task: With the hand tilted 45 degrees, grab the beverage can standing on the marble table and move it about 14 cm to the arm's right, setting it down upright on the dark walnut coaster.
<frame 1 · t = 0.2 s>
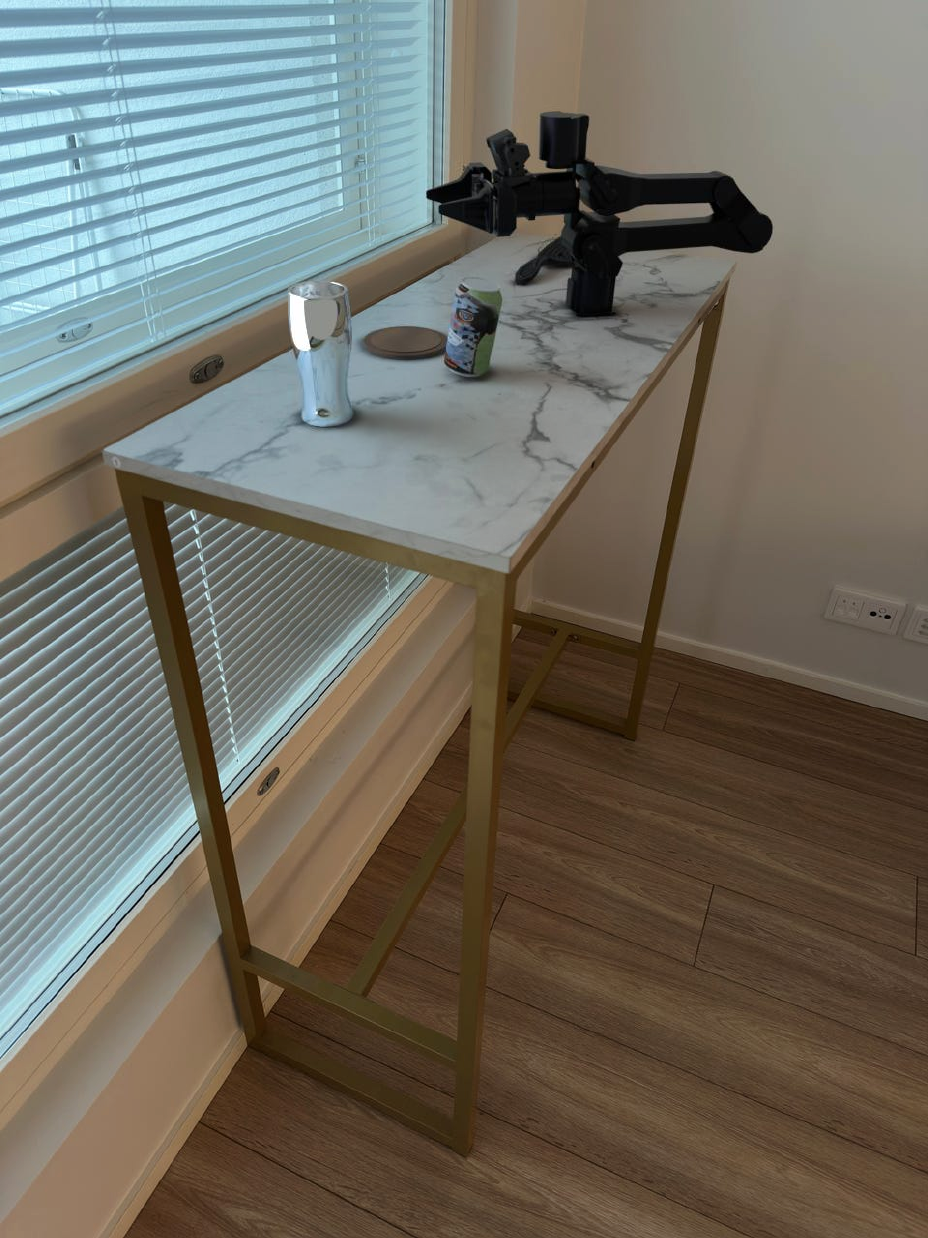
hand: (432, 201, 128), 17 cm above the table, tool horizontal, fingers open, 9 cm apart
beverage can: (471, 374, 121), on the table
hairbrush: (548, 268, 162), on the table
coaster: (406, 344, 129), on the table
beer glass: (327, 417, 109), on the table
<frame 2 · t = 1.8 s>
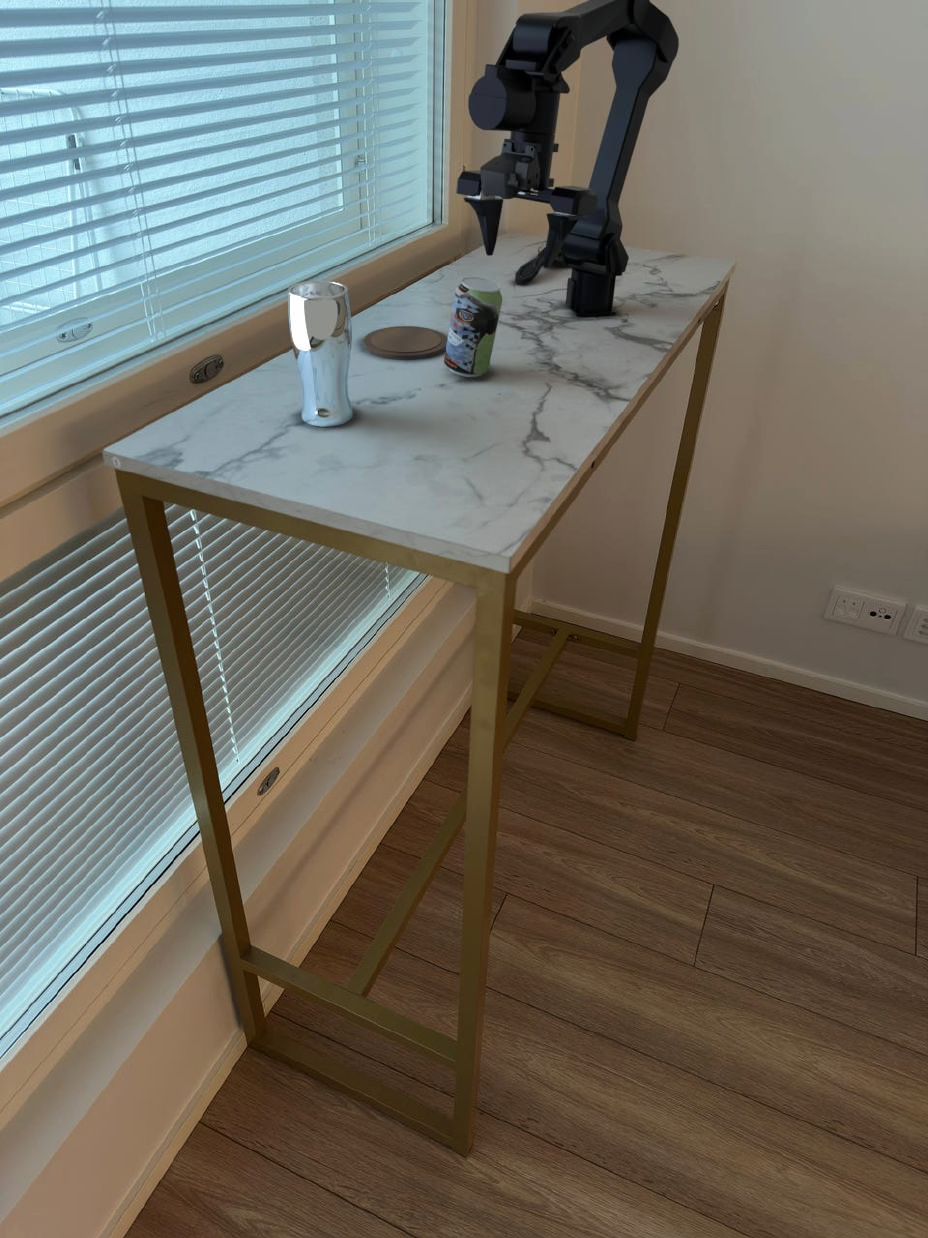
hand: (517, 261, 123), 11 cm above the table, tool pointing down, fingers open, 9 cm apart
nothing on the table moved.
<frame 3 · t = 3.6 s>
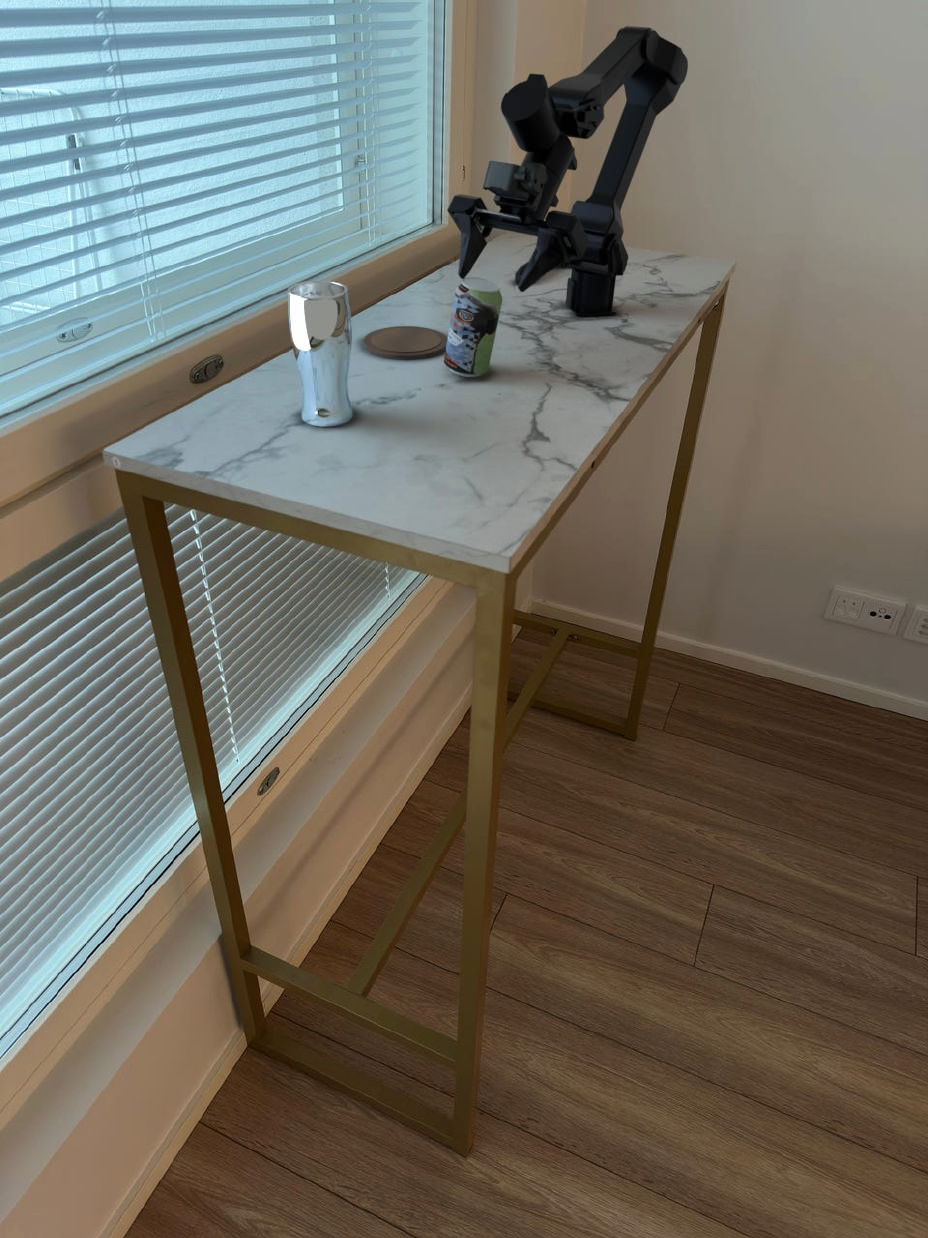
hand: (490, 283, 117), 11 cm above the table, tool tilted 45°, fingers open, 9 cm apart
nothing on the table moved.
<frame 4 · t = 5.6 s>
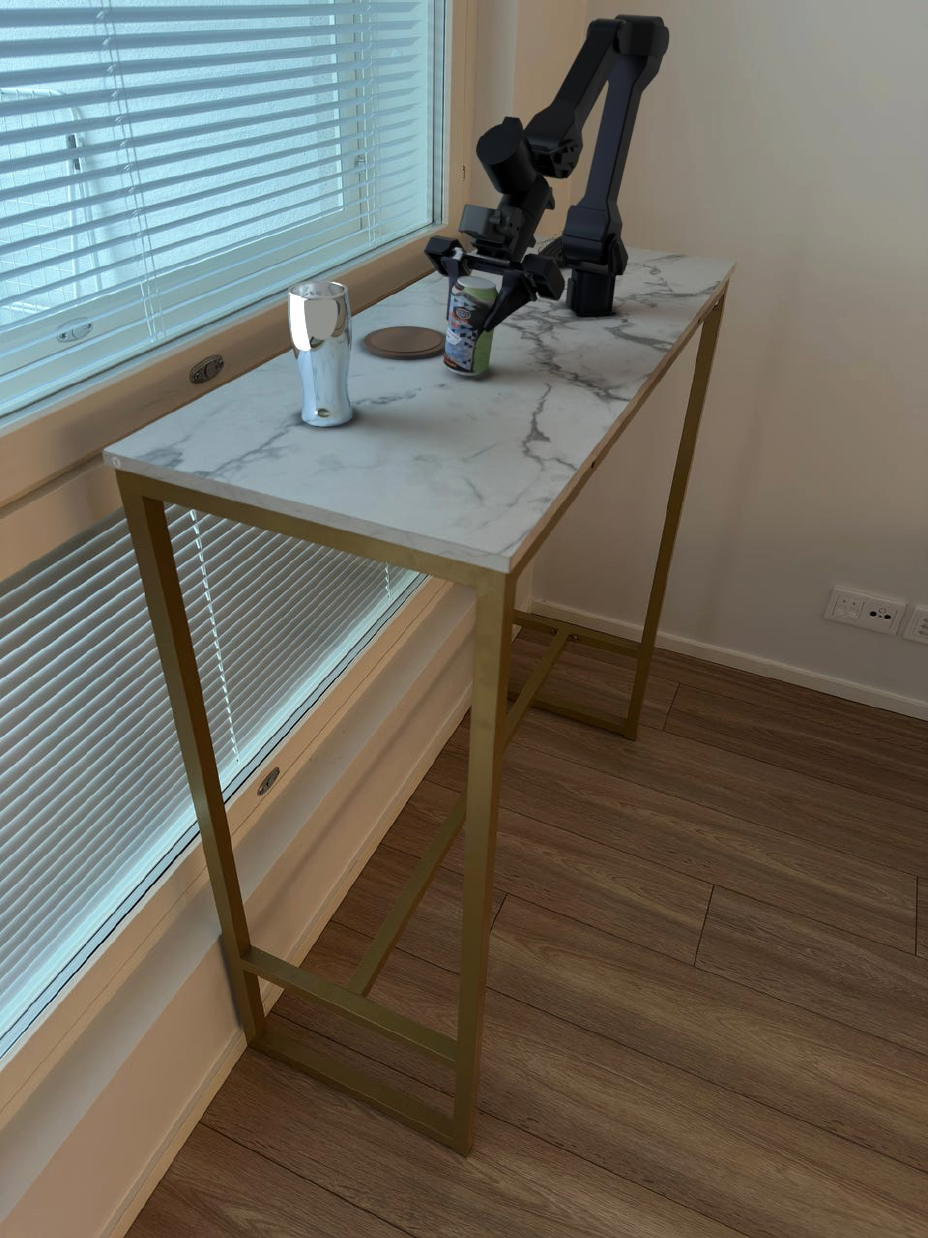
hand: (466, 325, 116), 7 cm above the table, tool tilted 45°, fingers closed on beverage can, 5 cm apart
beverage can: (471, 373, 121), on the table, touching gripper
everything else where it was.
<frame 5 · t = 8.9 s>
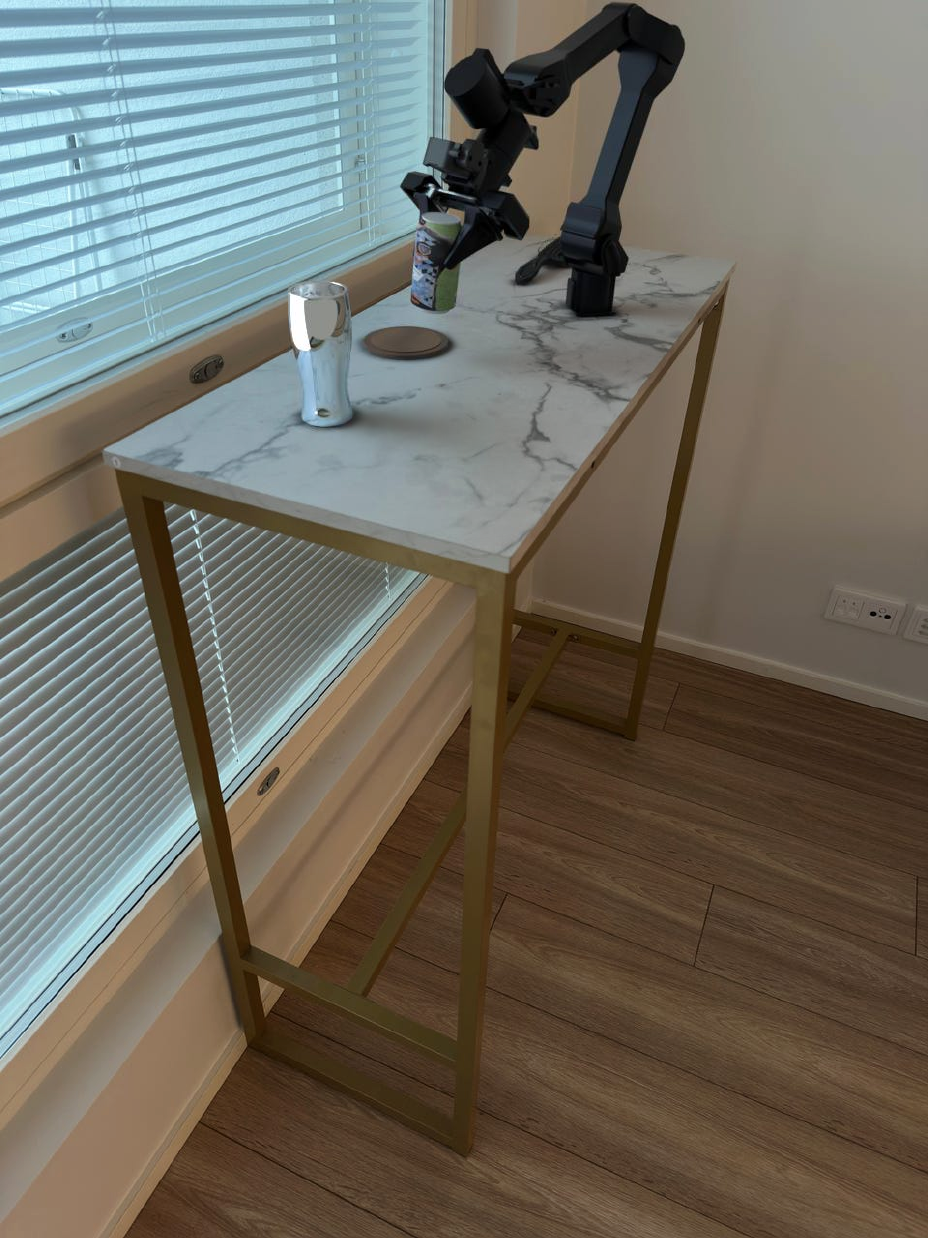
hand: (430, 262, 115), 13 cm above the table, tool tilted 45°, fingers closed on beverage can, 5 cm apart
beverage can: (438, 312, 120), point 7 cm above the table, touching gripper
everything else where it was.
when the fingers open (7 cm above the table, at t = 12.4 s): beverage can stays where it is, resting on coaster.
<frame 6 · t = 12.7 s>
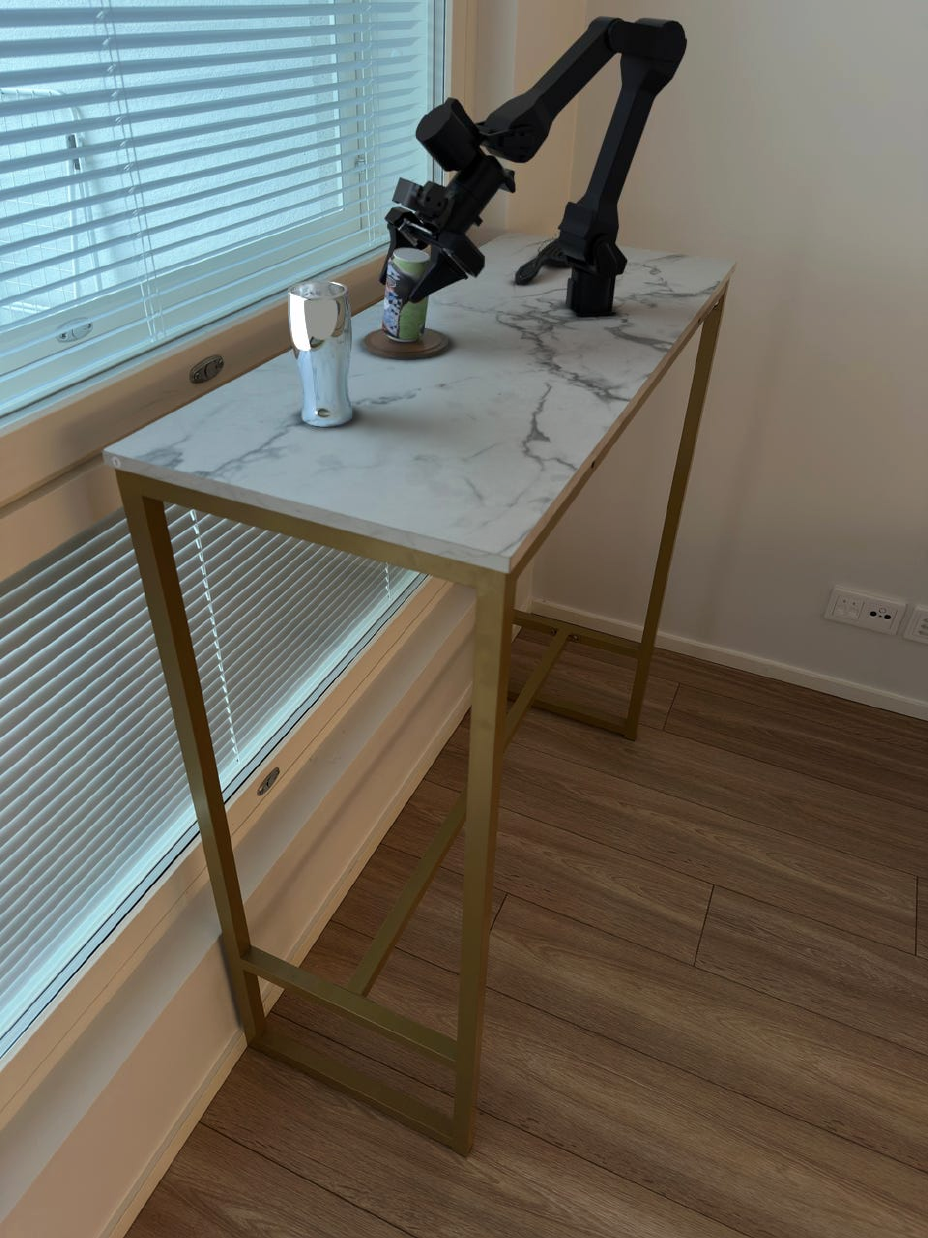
hand: (395, 291, 124), 8 cm above the table, tool tilted 45°, fingers open, 8 cm apart
beverage can: (407, 339, 129), point 1 cm above the table, touching coaster
everything else where it was.
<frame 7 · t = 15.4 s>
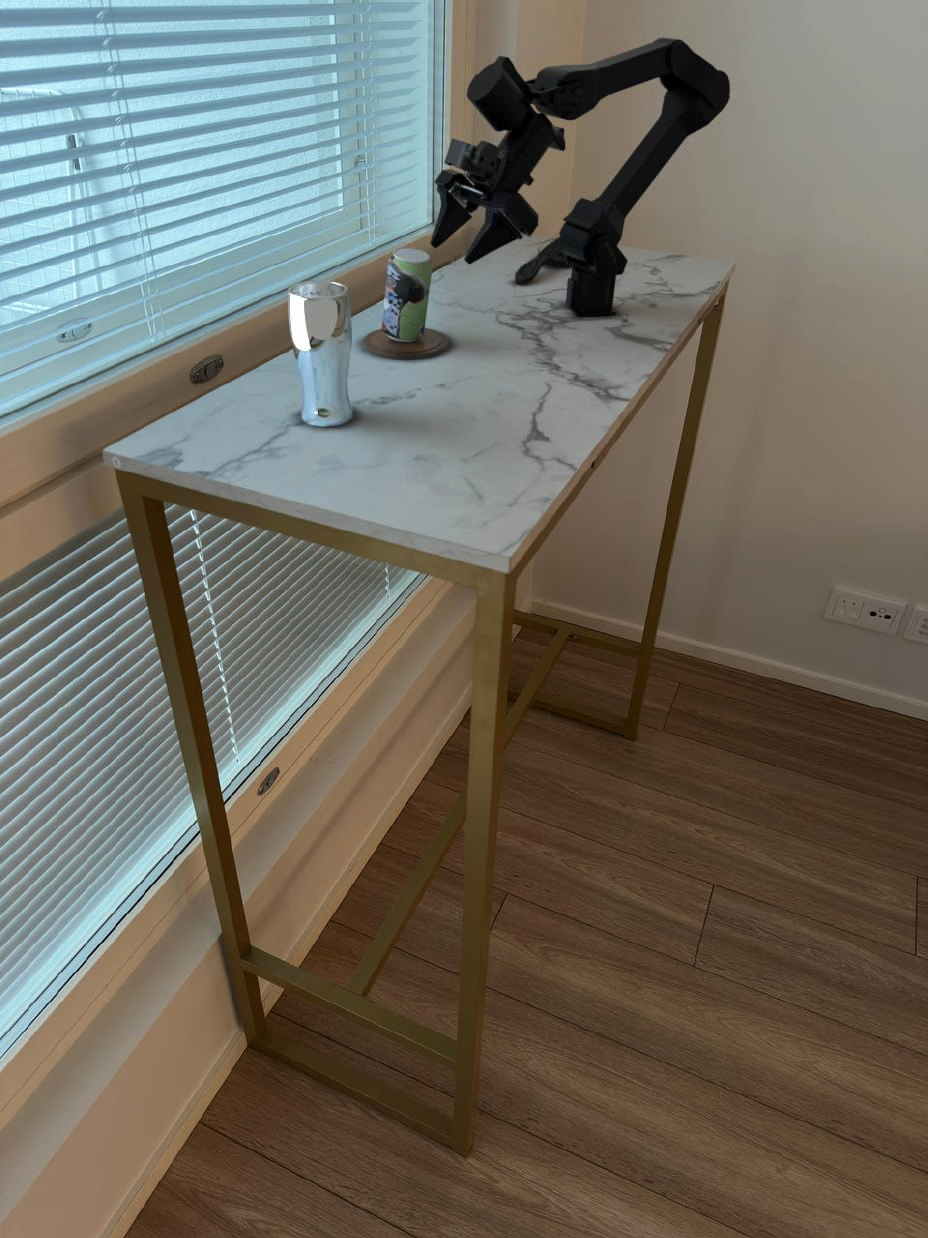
hand: (449, 253, 125), 12 cm above the table, tool tilted 45°, fingers open, 9 cm apart
nothing on the table moved.
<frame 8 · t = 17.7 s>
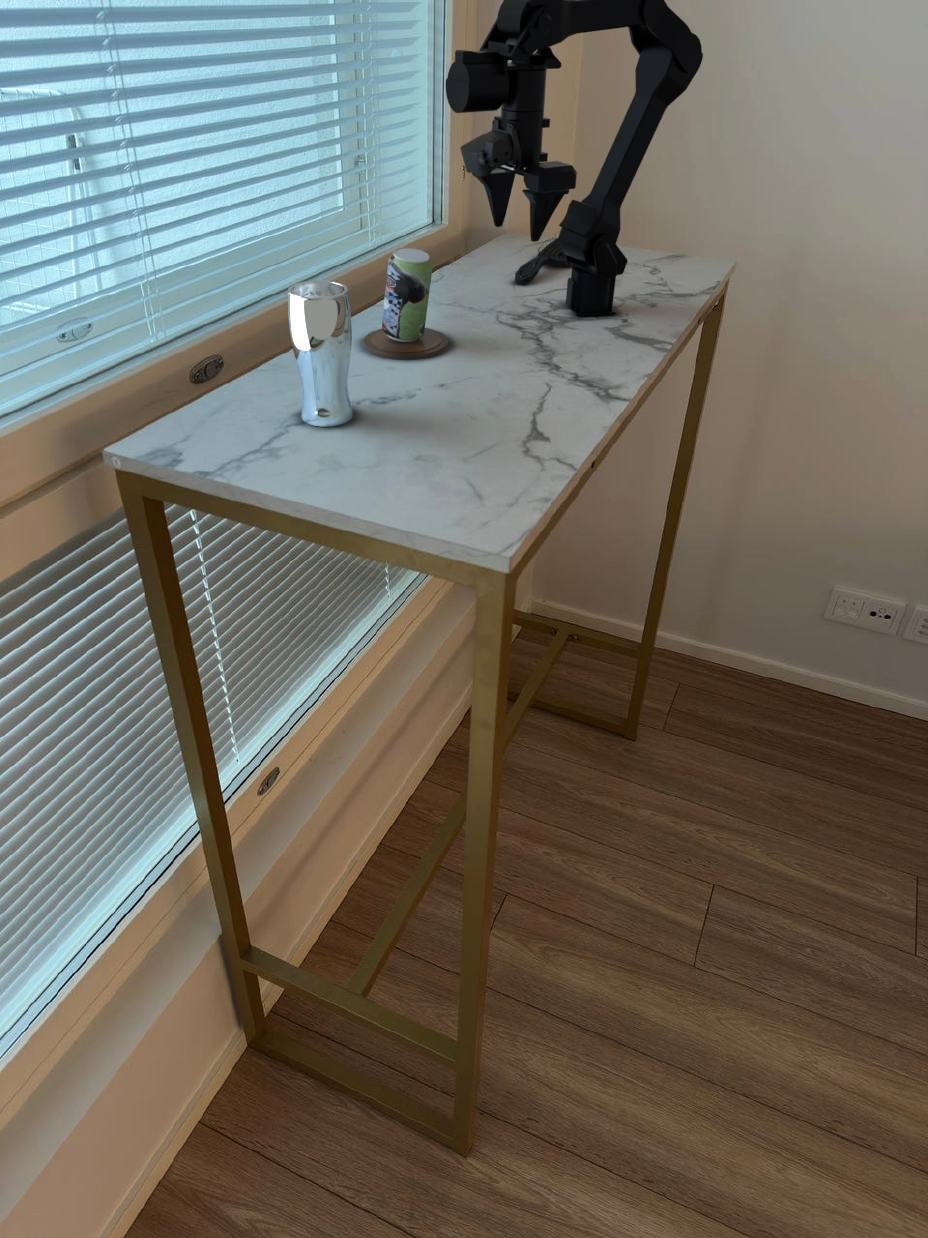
hand: (516, 233, 129), 13 cm above the table, tool pointing down, fingers open, 9 cm apart
nothing on the table moved.
at the end: beverage can 0.4 cm off-centre on the coaster, point 0.5 cm above the coaster's base; beverage can tilted 0°; the gripper is holding nothing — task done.
